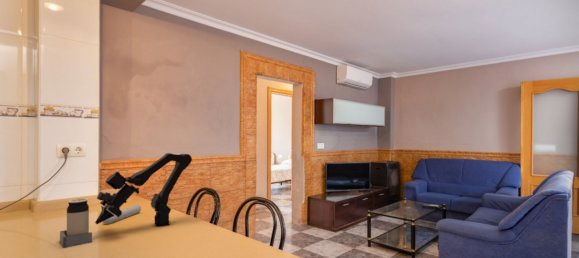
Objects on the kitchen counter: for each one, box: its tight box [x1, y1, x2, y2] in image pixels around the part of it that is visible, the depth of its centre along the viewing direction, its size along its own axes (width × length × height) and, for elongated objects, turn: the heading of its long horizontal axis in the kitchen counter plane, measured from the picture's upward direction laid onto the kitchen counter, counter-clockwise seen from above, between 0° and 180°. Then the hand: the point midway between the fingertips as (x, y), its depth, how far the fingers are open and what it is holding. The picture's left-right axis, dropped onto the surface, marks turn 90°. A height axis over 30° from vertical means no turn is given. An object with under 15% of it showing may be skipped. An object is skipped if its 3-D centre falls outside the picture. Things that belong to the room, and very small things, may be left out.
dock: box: [59, 229, 93, 249], centre depth 134 cm, size 10×12×4 cm
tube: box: [102, 204, 142, 225], centre depth 170 cm, size 5×5×25 cm
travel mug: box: [66, 197, 90, 237], centre depth 134 cm, size 8×8×18 cm
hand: (95, 223), depth 139 cm, fingers closed
